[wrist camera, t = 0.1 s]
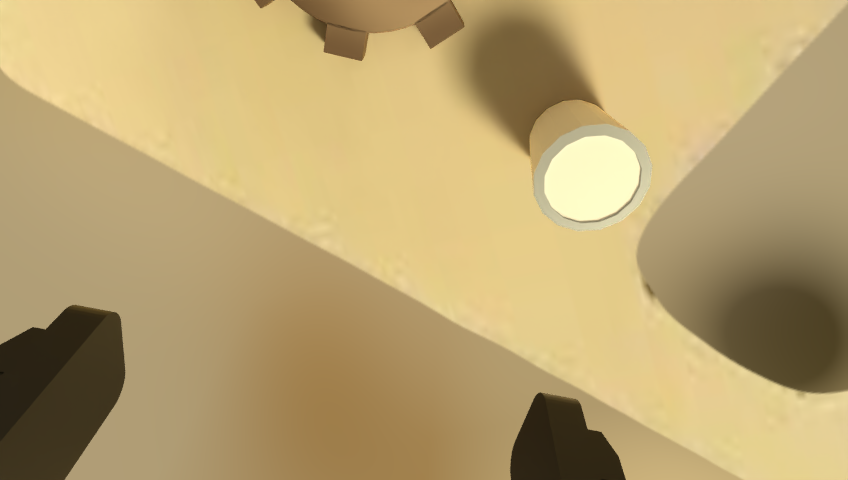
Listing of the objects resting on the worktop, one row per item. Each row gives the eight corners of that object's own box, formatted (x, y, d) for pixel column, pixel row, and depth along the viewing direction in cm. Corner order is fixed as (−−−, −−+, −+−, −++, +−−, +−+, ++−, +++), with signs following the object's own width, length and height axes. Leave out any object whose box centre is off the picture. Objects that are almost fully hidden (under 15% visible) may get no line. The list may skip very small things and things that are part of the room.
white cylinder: (530, 195, 41) (544, 243, 35) (510, 106, 37) (522, 143, 31) (626, 171, 39) (658, 217, 33) (614, 77, 36) (646, 109, 30)
